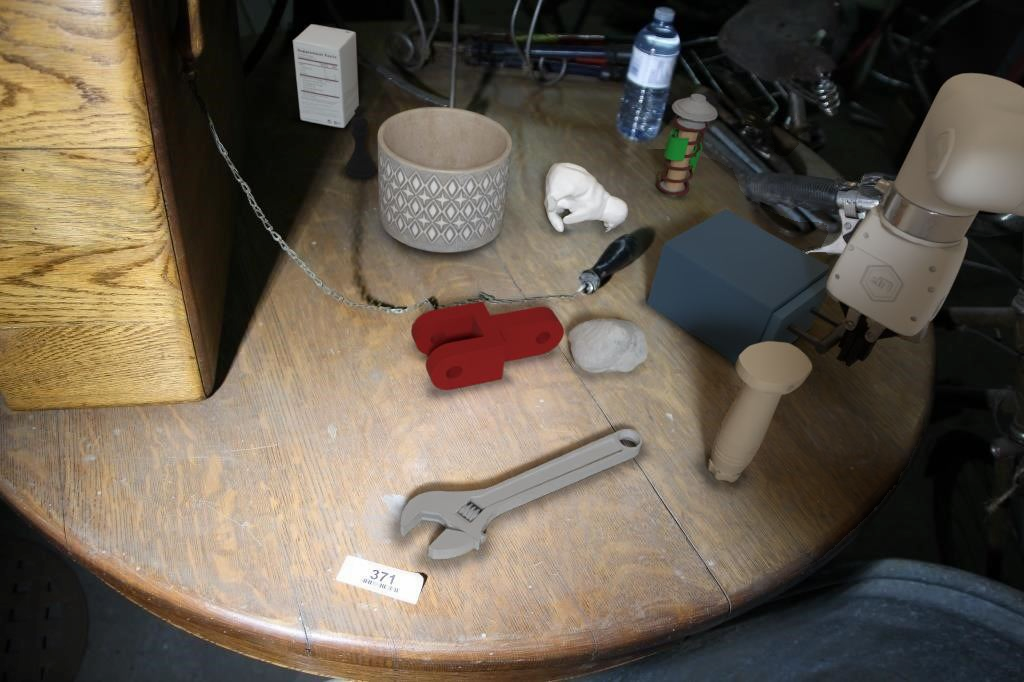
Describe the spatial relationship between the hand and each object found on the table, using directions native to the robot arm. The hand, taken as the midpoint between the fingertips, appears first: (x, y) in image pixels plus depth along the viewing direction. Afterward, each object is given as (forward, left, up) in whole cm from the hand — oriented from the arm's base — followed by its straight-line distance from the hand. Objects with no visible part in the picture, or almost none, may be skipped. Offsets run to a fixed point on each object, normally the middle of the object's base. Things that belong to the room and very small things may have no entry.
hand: (849, 358), depth 82 cm
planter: (+50, +16, -4) cm, 53 cm away
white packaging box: (+84, +11, -4) cm, 85 cm away
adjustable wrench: (+11, +37, -4) cm, 39 cm away
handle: (+1, +21, -4) cm, 21 cm away
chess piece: (+67, +17, -4) cm, 69 cm away
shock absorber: (+37, -18, -4) cm, 42 cm away
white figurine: (+39, 0, -4) cm, 39 cm away
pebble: (+19, +18, -4) cm, 27 cm away
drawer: (+11, 0, -3) cm, 11 cm away
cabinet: (+15, 0, -4) cm, 16 cm away
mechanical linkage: (+27, +28, -4) cm, 39 cm away
